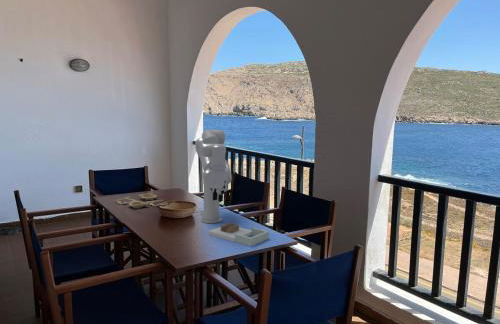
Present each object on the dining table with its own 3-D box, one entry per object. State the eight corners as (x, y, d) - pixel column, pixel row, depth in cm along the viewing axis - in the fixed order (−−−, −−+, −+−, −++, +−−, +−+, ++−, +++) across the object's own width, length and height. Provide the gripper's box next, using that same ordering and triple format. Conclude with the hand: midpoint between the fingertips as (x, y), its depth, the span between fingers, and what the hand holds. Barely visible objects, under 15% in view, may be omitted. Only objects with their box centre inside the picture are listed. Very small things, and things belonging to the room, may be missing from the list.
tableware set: (112, 202, 270) (112, 196, 270) (150, 196, 290) (150, 191, 289) (134, 212, 245) (134, 206, 244) (173, 205, 264) (173, 199, 264)
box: (234, 241, 192) (235, 234, 191) (252, 234, 204) (253, 227, 203) (250, 246, 185) (251, 238, 185) (268, 238, 197) (268, 231, 197)
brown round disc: (220, 230, 203) (220, 225, 202) (229, 227, 208) (229, 222, 208) (230, 233, 199) (230, 227, 198) (238, 230, 204) (239, 224, 204)
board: (208, 234, 202) (208, 230, 202) (228, 227, 215) (228, 224, 214) (234, 242, 191) (234, 238, 191) (253, 234, 204) (253, 230, 204)
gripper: (202, 167, 206) (202, 199, 209) (225, 170, 196) (224, 204, 199) (211, 165, 212) (211, 197, 215) (234, 168, 202) (233, 202, 205)
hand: (217, 200), depth 207 cm, fingers open, 3 cm apart
